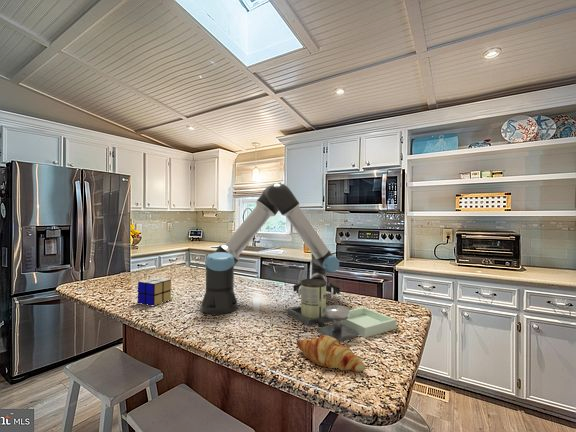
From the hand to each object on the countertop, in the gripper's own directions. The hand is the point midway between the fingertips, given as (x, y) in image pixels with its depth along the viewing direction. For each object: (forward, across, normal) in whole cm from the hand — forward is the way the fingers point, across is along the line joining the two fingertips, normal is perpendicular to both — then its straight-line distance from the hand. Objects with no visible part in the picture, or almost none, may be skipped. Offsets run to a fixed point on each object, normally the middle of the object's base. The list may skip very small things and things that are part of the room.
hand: (315, 294), depth 117 cm
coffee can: (+2, +1, -9) cm, 9 cm away
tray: (+8, -19, -8) cm, 22 cm away
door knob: (+16, -7, -8) cm, 19 cm away
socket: (+2, +1, -8) cm, 9 cm away
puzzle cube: (-3, +73, -9) cm, 74 cm away
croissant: (+37, -6, -9) cm, 39 cm away
